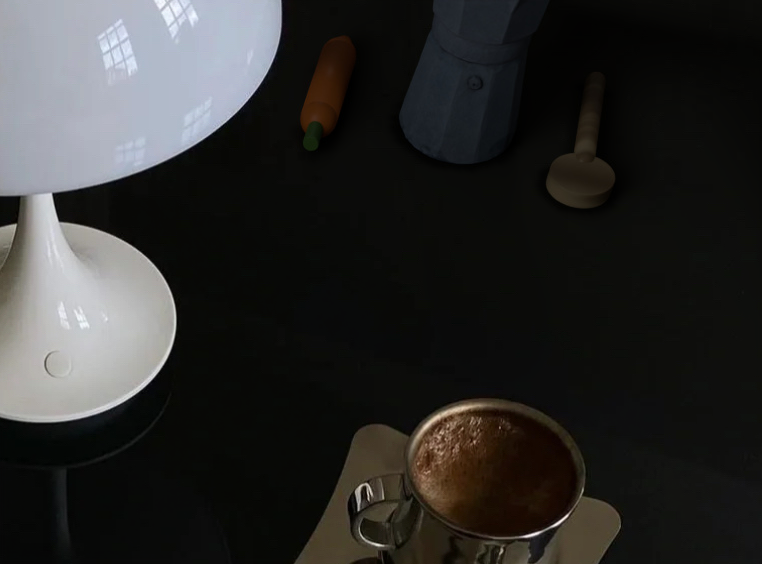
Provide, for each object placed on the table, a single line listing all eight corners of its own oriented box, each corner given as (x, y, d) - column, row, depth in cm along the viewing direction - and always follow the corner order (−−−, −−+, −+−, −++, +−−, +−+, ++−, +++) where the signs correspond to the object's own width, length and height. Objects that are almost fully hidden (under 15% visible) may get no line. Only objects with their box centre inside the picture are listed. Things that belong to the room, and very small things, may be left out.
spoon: (562, 81, 105) (568, 62, 104) (623, 91, 105) (629, 73, 104) (542, 201, 98) (548, 183, 96) (607, 214, 97) (614, 195, 96)
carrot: (326, 46, 107) (330, 13, 105) (360, 52, 107) (365, 19, 104) (290, 157, 100) (294, 123, 97) (326, 163, 99) (331, 130, 97)
